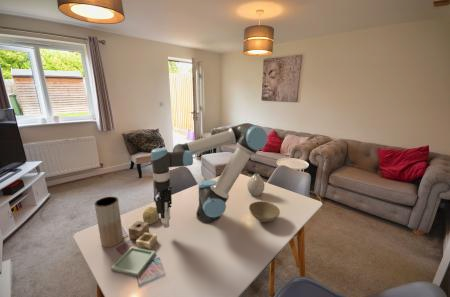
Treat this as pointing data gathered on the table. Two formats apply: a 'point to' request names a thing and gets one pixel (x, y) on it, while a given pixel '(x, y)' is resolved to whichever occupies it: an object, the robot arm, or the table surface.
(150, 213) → the decorative item
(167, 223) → the cylinder
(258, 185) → the vase
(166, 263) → the table surface
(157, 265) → the table surface
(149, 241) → the block
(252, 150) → the robot arm
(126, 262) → the tray
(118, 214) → the planter
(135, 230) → the block
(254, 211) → the bowl
